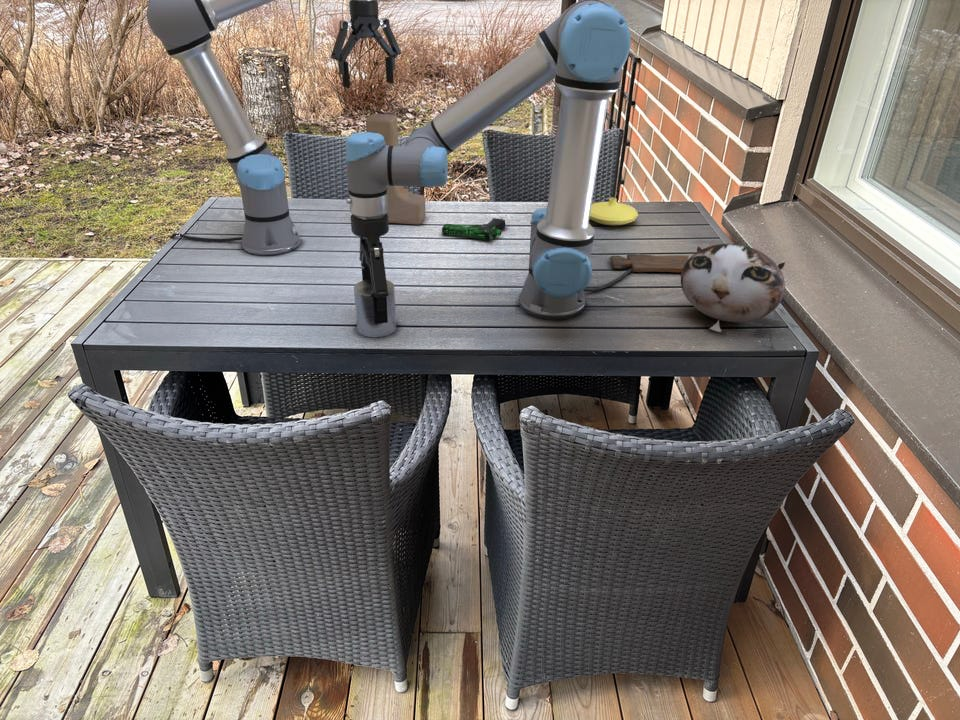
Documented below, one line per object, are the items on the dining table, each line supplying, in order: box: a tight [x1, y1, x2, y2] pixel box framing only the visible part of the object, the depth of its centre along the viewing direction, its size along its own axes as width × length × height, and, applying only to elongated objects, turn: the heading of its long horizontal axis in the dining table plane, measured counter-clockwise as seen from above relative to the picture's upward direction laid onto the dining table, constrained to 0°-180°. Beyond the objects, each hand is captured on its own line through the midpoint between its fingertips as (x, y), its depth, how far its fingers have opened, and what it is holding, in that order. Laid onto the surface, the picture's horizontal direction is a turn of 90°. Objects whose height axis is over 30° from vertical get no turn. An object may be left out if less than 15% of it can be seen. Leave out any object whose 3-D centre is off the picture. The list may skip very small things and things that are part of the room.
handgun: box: [441, 217, 506, 242], centre depth 207 cm, size 16×3×15 cm
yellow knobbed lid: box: [589, 197, 639, 227], centre depth 215 cm, size 16×16×7 cm
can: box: [353, 279, 397, 338], centre depth 154 cm, size 8×8×10 cm
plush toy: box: [680, 243, 786, 333], centre depth 158 cm, size 22×18×20 cm
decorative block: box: [365, 113, 426, 226], centre depth 208 cm, size 8×15×30 cm, turn 82°
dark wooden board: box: [609, 253, 690, 274], centre depth 188 cm, size 26×2×10 cm
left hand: (368, 85), depth 198 cm, fingers open, 13 cm apart
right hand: (375, 308), depth 154 cm, fingers open, 13 cm apart
